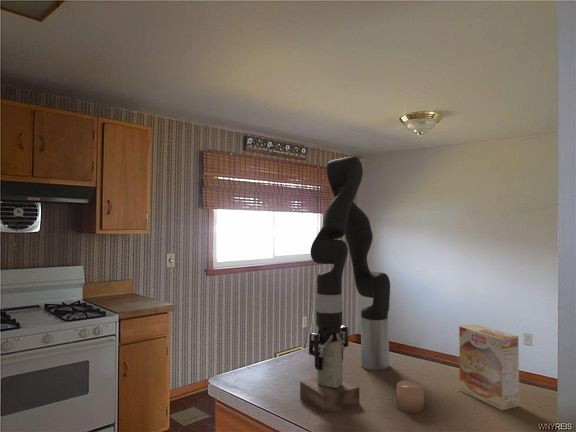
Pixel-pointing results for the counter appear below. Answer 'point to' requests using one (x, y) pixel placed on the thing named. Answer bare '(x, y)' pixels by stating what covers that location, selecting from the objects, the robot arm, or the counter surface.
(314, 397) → the walnut block
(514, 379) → the coffeecake box
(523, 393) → the counter surface
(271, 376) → the counter surface
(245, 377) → the counter surface
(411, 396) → the pink rounded knob
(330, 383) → the skincare box
